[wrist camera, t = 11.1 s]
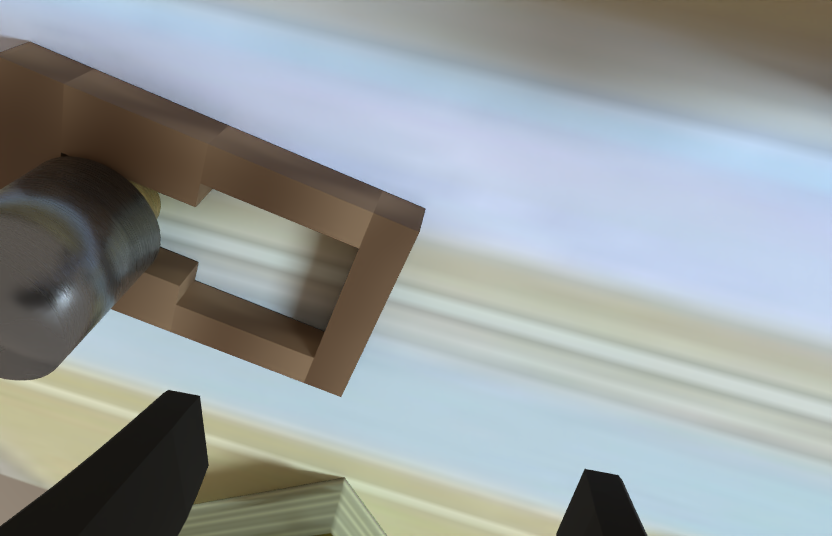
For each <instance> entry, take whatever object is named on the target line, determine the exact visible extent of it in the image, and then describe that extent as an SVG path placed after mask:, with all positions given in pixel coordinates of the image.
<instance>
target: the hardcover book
mask: <svg viewBox="0 0 832 536" xmlns="http://www.w3.org/2000/svg"><path fill="white" fill-rule="evenodd" d="M178 536H387V535H386V533H385V532H384V531H383V529H382V528H381V527H380V525H379V524H378V522H377V521H376V520H375V518H374V517H373V516H372V514H371V513H370V512H369V510H368V509H367V507H366V506H365V505H364V503H363V502H362V501H361V499H360V498H359V496H358V495H357V494H356V492H355V491H354V490H353V488H352V487H351V486H350V484H349V483H348V481H347V480H346V479H345V478H340V479H334V480H329V481H323V482H317V483H312V484H306V485H301V486H295V487H289V488H284V489H278V490H273V491H267V492H262V493H256V494H250V495H245V496H239V497H234V498H228V499H222V500H217V501H211V502H206V503H200V504H194V505H193V506H192V508H191V511H190V513H189V516H188V518H187V520H186V522H185V524H184V526H183V527H182V529H181V531H180V533H179V535H178Z"/></svg>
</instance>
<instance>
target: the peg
mask: <svg viewBox="0 0 832 536" xmlns="http://www.w3.org/2000/svg"><path fill="white" fill-rule="evenodd" d="M160 209H161V203H160V197H159V194H158V192H157V191H154V190H152V189H150V188H147V187H145V186H142V185H140V184H137V183H135V182H132V181H130V180H127V179H126V178H124V177H123V176H122V175H120V174H119V173H117V172H116V171H114V170H112V169H111V168H109V167H107V166H105V165H103V164H100V163H98V162H96V161H93V160H89V159H86V158H81V157H72V156H65V157H57V158H53V159H50V160H48V161H45V162H44V163H42V164H41V165H39V166H37V167H36V168H34V169H33V170H31V171H29V172H28V173H26V174H25V175H23V176H21V177H20V178H18V179H17V180H15V181H13V182H12V183H10V184H9V185H7V186H5V187H4V188H2V189H1V190H0V378H3V379H9V380H33V379H37V378H41V377H44V376H46V375H48V374H50V373H51V372H53V371H54V370H55V369H56V368H57V367H58V366H59V365H60V364H61V362H62V361H63V360H64V359H65V358H66V357H67V356H68V355H69V354H70V353H71V352H72V350H73V349H74V348H75V347H76V346H77V345H78V344H79V343H80V342H81V341H82V340H83V339H84V337H85V336H86V335H87V334H88V333H89V332H90V331H91V330H92V329H93V328H94V327H95V325H96V324H97V323H98V322H99V321H100V320H101V319H102V318H103V317H104V316H105V315H106V313H107V312H108V311H109V310H110V309H111V308H112V307H113V306H114V305H115V304H116V303H117V301H118V300H119V299H120V298H121V297H122V296H123V295H124V294H125V293H126V292H127V291H128V289H129V288H130V287H131V286H132V285H133V284H134V283H135V282H136V281H137V280H138V279H139V277H140V276H141V275H142V274H143V273H144V272H145V271H146V270H147V269H148V268H149V267H150V265H151V264H152V263H153V262H154V260H155V259H156V257H157V255H158V252H159V249H160V239H161V237H160V229H159V225H158V222H157V218H158V216H159V213H160Z"/></svg>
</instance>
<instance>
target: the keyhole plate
mask: <svg viewBox="0 0 832 536" xmlns="http://www.w3.org/2000/svg"><path fill="white" fill-rule="evenodd" d="M65 156H72V157H81V158H86V159H89V160H93V161H96V162H98V163H100V164H103V165H105V166H107V167H109V168H111V169H112V170H114V171H116V172H117V173H119V174H120V175H122V176H123V177H124V178H126V179H127V180H130V181H132V182H135V183H137V184H140V185H142V186H145V187H147V188H150V189H152V190H154V191H157V192H159V193H162V194H164V195H167V196H169V197H172V198H174V199H177V200H179V201H182V202H184V203H187V204H189V205H191V206H194V207H196V206H197V205H198V204H199V203H200V202H201V201H202V200H203V199H204V198H205V196H206V195H207V194H208V193H209V192H210V191H211V190H212V189H215V190H217V191H220V192H222V193H225V194H227V195H230V196H232V197H234V198H237V199H239V200H242V201H244V202H247V203H249V204H251V205H254V206H256V207H259V208H261V209H264V210H266V211H269V212H271V213H273V214H276V215H278V216H281V217H283V218H286V219H288V220H290V221H293V222H295V223H298V224H300V225H303V226H305V227H308V228H310V229H312V230H315V231H317V232H320V233H322V234H325V235H327V236H329V237H332V238H334V239H337V240H339V241H342V242H344V243H347V244H349V245H351V246H354V247H356V248H359V250H358V252H357V254H356V257H355V259H354V262H353V264H352V267H351V269H350V271H349V274H348V276H347V279H346V281H345V284H344V286H343V288H342V291H341V293H340V296H339V298H338V301H337V303H336V305H335V308H334V310H333V313H332V315H331V318H330V320H329V323H328V325H327V327H326V330H325V332H324V331H322V330H319V329H317V328H314V327H312V326H309V325H307V324H304V323H301V322H299V321H296V320H294V319H291V318H289V317H286V316H284V315H281V314H279V313H276V312H273V311H271V310H268V309H266V308H263V307H261V306H258V305H256V304H253V303H251V302H248V301H246V300H243V299H240V298H238V297H235V296H233V295H230V294H228V293H225V292H223V291H220V290H218V289H215V288H212V287H210V286H207V285H205V284H202V283H200V282H197V281H195V276H196V272H197V267H198V263H199V262H196V261H194V260H191V259H189V258H186V257H184V256H181V255H178V254H176V253H173V252H171V251H168V250H166V249H163V248H161V247H160V249H159V252H158V255H157V257H156V259H155V260H154V262H153V263H152V264H151V265H150V267H149V268H148V269H147V270H146V271H145V272H144V273H143V274H142V275H141V276H140V277H139V279H138V280H137V281H136V282H135V283H134V284H133V285H132V286H131V287H130V288H129V289H128V291H127V292H126V293H125V294H124V295H123V296H122V297H121V298H120V299H119V300H118V301H117V303H116V304H115V305H114V306H113V307H112V308H111V309H112V310H115V311H117V312H120V313H123V314H125V315H128V316H131V317H133V318H136V319H138V320H141V321H144V322H146V323H149V324H151V325H154V326H157V327H159V328H162V329H164V330H167V331H170V332H172V333H175V334H178V335H180V336H183V337H185V338H188V339H191V340H193V341H196V342H198V343H201V344H204V345H206V346H209V347H212V348H214V349H217V350H219V351H222V352H225V353H227V354H230V355H232V356H235V357H238V358H240V359H243V360H246V361H248V362H251V363H253V364H256V365H259V366H261V367H264V368H266V369H269V370H272V371H274V372H277V373H280V374H282V375H285V376H287V377H290V378H293V379H295V380H298V381H300V382H303V383H306V384H308V385H311V386H314V387H316V388H319V389H321V390H324V391H327V392H329V393H332V394H334V395H337V396H340V397H341V396H342V394H343V392H344V390H345V388H346V386H347V384H348V381H349V379H350V377H351V375H352V373H353V371H354V369H355V367H356V365H357V363H358V360H359V358H360V356H361V354H362V352H363V350H364V348H365V346H366V344H367V341H368V339H369V337H370V335H371V333H372V331H373V329H374V327H375V325H376V323H377V320H378V318H379V316H380V314H381V312H382V310H383V308H384V306H385V304H386V301H387V299H388V297H389V295H390V293H391V291H392V289H393V287H394V285H395V283H396V280H397V278H398V276H399V274H400V272H401V270H402V268H403V266H404V264H405V262H406V259H407V257H408V255H409V253H410V251H411V249H412V247H413V245H414V243H415V240H416V238H417V236H418V234H419V232H420V228H421V224H422V221H423V217H424V213H425V208H422V207H420V206H417V205H415V204H413V203H410V202H408V201H406V200H403V199H401V198H398V197H396V196H394V195H391V194H389V193H387V192H384V191H382V190H380V189H377V188H375V187H372V186H370V185H368V184H365V183H363V182H361V181H358V180H356V179H353V178H351V177H349V176H346V175H344V174H342V173H339V172H337V171H335V170H332V169H330V168H327V167H325V166H323V165H320V164H318V163H316V162H313V161H311V160H308V159H306V158H304V157H301V156H299V155H297V154H294V153H292V152H290V151H287V150H285V149H282V148H280V147H278V146H275V145H273V144H271V143H268V142H266V141H263V140H261V139H259V138H256V137H254V136H252V135H249V134H247V133H245V132H242V131H240V130H237V129H235V128H233V127H230V126H228V125H226V124H223V123H221V122H219V121H216V120H214V119H211V118H209V117H207V116H204V115H202V114H200V113H197V112H195V111H192V110H190V109H188V108H185V107H183V106H181V105H178V104H176V103H174V102H171V101H169V100H166V99H164V98H162V97H159V96H157V95H155V94H152V93H150V92H147V91H145V90H143V89H140V88H138V87H136V86H133V85H131V84H129V83H126V82H124V81H121V80H119V79H117V78H114V77H112V76H110V75H107V74H105V73H102V72H100V71H98V70H95V69H93V68H91V67H88V66H86V65H84V64H81V63H79V62H76V61H74V60H72V59H69V58H67V57H65V56H62V55H60V54H57V53H55V52H53V51H50V50H48V49H46V48H43V47H41V46H39V45H36V44H34V43H31V42H28V43H25V44H22V45H19V46H17V47H14V48H11V49H8V50H6V51H3V52H0V190H1V189H2V188H4V187H5V186H7V185H9V184H10V183H12V182H13V181H15V180H17V179H18V178H20V177H21V176H23V175H25V174H26V173H28V172H29V171H31V170H33V169H34V168H36V167H37V166H39V165H41V164H42V163H44V162H45V161H48V160H50V159H53V158H57V157H65Z"/></svg>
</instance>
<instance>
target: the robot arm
mask: <svg viewBox="0 0 832 536" xmlns="http://www.w3.org/2000/svg"><path fill="white" fill-rule="evenodd" d="M208 466H209V464H208V456H207V448H206V440H205V432H204V425H203V417H202V409H201V401H200V396H198V395H192V394H187V393H182V392H177V391H171V390H168V391H166V392H165V393H163V394H162V395H161V396H160V397H159V398H157V399H156V400H155V401H154V402H153V403H152V404H150V405H149V406H148V407H147V408H146V409H145V410H144V411H143V412H141V413H140V414H139V415H138V416H137V417H136V418H135V419H133V420H132V421H131V422H130V423H129V424H128V425H126V426H125V427H124V428H123V429H122V430H121V431H120V432H118V433H117V434H116V435H115V436H114V437H112V438H111V439H110V440H109V441H108V442H107V443H105V444H104V445H103V446H102V447H101V448H100V449H98V450H97V451H96V452H95V453H93V454H92V455H91V456H90V457H89V458H87V459H86V460H85V461H84V462H82V463H81V464H80V465H79V466H78V467H76V468H75V469H74V470H73V471H71V472H70V473H69V474H68V475H67V476H65V477H64V478H63V479H62V480H60V481H59V482H58V483H57V484H55V485H54V486H53V487H52V488H50V489H49V490H48V491H46V492H45V493H44V494H42V495H41V496H40V497H38V498H37V499H36V500H35V501H33V502H32V503H30V504H29V505H28V506H26V507H25V508H24V509H22V510H21V511H20V512H19V513H17V514H16V515H15V516H13V517H12V518H11V519H9V520H8V521H7V522H5V523H4V524H2V525H1V526H0V536H178V535H179V533H180V531H181V529H182V527H183V526H184V524H185V522H186V520H187V518H188V516H189V513H190V511H191V508H192V506H193V504H194V501H195V499H196V496H197V494H198V491H199V489H200V486H201V484H202V481H203V479H204V476H205V474H206V471H207V468H208ZM556 536H647V534H646V532H645V529H644V527H643V525H642V523H641V521H640V519H639V517H638V514H637V512H636V510H635V508H634V506H633V503H632V501H631V499H630V497H629V494H628V492H627V490H626V487H625V485H624V483H623V481H622V479H621V478H620V477H619V475H615V474H609V473H604V472H599V471H593V470H588V469H584V472H583V474H582V476H581V479H580V481H579V483H578V485H577V488H576V490H575V492H574V495H573V497H572V499H571V501H570V504H569V506H568V508H567V510H566V513H565V515H564V517H563V520H562V522H561V524H560V526H559V529H558V531H557V533H556Z"/></svg>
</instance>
